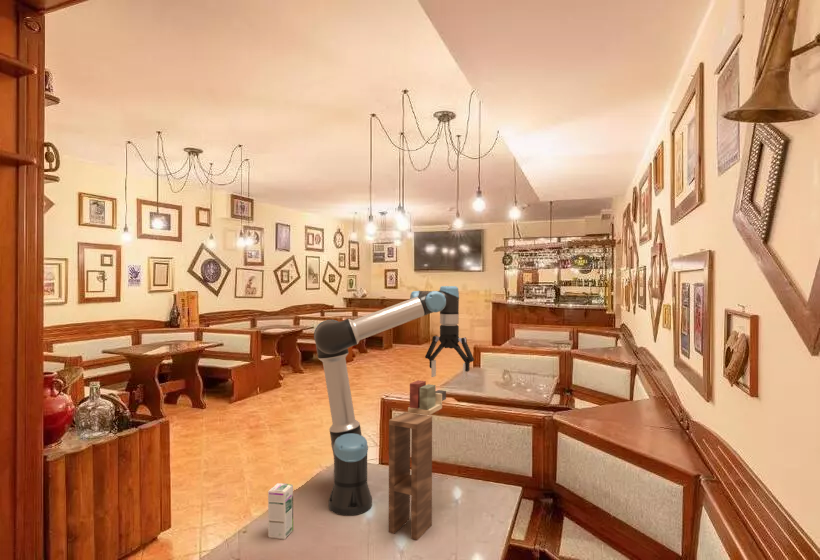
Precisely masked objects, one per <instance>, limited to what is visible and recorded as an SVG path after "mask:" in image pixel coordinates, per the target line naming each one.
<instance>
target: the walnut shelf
mask: <svg viewBox="0 0 820 560" xmlns="http://www.w3.org/2000/svg"><path fill="white" fill-rule="evenodd" d="M409 521H410V529H411V530H410V539H411V540H413V541H418V540H419V539H420V538H421V537H422V536H423V535H424V534H425V533H426V532H427V531H428V530H429V529H430V528H431V527H432V526H433V416H432V415H425V414H418V413H412V412H403V413H400V414H398V415H397V416H395V417H392V418H390V419H389V420H388V533H389V534H393V535H394V534H396V533H397V532H398V531H399V530H400V529H401V528H402V527H403V526H405V525H406V524H407V523H408V522H409ZM405 523H406V524H405Z"/></svg>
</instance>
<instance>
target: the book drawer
mask: <svg viewBox="0 0 820 560" xmlns="http://www.w3.org/2000/svg"><path fill="white" fill-rule="evenodd" d="M436 387H437V386H436V384H431V383H430V384H427V381H426V380H419V379H418V380H415V381H412V382H410V383H409V406H408V407H407V413H413V414H420V415H427V416H432V415H433V414H434V413H436V412H439V411H440V410H442V409H443V401H445V400H447V391H446V390H442V389H439V390H436Z"/></svg>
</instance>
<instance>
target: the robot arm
mask: <svg viewBox="0 0 820 560" xmlns="http://www.w3.org/2000/svg"><path fill="white" fill-rule="evenodd" d="M459 293H460V292H459V287H458V286H454V285H451V286H449V285H448V286H447V285H446V286H444V285H441V286H440V287H439V290H413V291H412V292H411V293H410V296H409V299H407V300H404V301H401V302H399V303H396V304H393V305H390V306H388V307H385V308H383V309H380V310H377V311H374V312H371V313H368V314H365V315H363V316H360V317H357V318H356V319H350V318H347V319H344V320H341V321H338V320H336V319H335V320H334V319H327V320H323V321H322V322H319V324H317V326H316V327H315V330H314V333H313V339H314V344H315V348H316V354H317V359H318V360H320V362H322V365H323V372H324V378H325V385H326V392H327V397H328V404H329V410H330V416H331V423H332V424H331V426H330V427H329V429H328V430H329V435H330V436H329V437H330V442H331V444H330V447H331V450H332V455H333V487H332V488H331V493H330V495H329V498H328V509H329V511H330V512H332V513H334V514H336V515H338V516H339V515H340V516H356V515H360V514H363V513H366V512H368V511H369V510H370V509H371V508H372V507H373V496H372V494H371V490H370V487H369V484H368V451H369V446H368V440H367V439H366V437H365V436H364V435H362V430H361V423H360V421H359V420H357V419H356V416H355V411H354V405H353V398H352V392H351V386H350V378H349V373H348V372H349V371H348V367H347V365H348V364H347V360H346V358H347V356H348V355H349V348H351V347H353V346H354V347H355V346H357V345H358V344H359V343H360V341H362V340H364V339H366V338H369V337H370V338H371V337H372V336H375V335H377V334H380V333H382V332H384V331H388V330H390V329H393V328H396V327H398V326H401V325H403V324H406V323H409V322H411V321H415V320H416V319H418V318H422V317H425V316H427V315H430V314H432V313H433V314H434V313H438V312H439V324H440V325H439V336H438V335H434V336H432V339H431V343H430V345H429V347H428V349H427V352H426V354H425V356H424V357H425V359H427V360H429V369H431V370H430V371H431V375H430V376H431V378H434V377H436V376H437V360H436V358H437V356H438V355H439V353H440V352H441V351H442V350H443V349H454V350H455V351H456V352H457V354H458V355H459V357H460V358H461V360H463V362H464V363H462V381H466V380H468V372H469V371H470V365H471V364H470V363H472V362H474V361H475V358H474V355H473V354H472V352H471V349H470V347H469V345H468V342H467V341H468V340H467V337H460V336H459V334H460V330H459V329H460V326H459V319H460V317H459V315H460V314H459V312H460V311H459V308H460V306H459V305H460V295H459ZM438 342H440V344H439V345H438V347H437V348H436V349H435V347H436V346H437V343H438ZM459 342H460V344H461V345H459ZM461 346H462V348H461Z"/></svg>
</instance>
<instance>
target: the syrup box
mask: <svg viewBox="0 0 820 560" xmlns="http://www.w3.org/2000/svg"><path fill="white" fill-rule="evenodd" d="M267 514H268V516H267V517H268V518H267V520H268V521H267V525H268V526H267V529H268V531H267V536H268V538H270V539H271V538H272V539H278V540H286V539H287V537H288V536H289V535H290V534H291V533H292V532H293V531H294V484H292V483H291V484H290V483H286V482H285V483H282V482H280V483H279V482H277V483H276V484H275V485H274V486H272V487H271V488H270V489H269V490H268V491H267Z"/></svg>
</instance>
